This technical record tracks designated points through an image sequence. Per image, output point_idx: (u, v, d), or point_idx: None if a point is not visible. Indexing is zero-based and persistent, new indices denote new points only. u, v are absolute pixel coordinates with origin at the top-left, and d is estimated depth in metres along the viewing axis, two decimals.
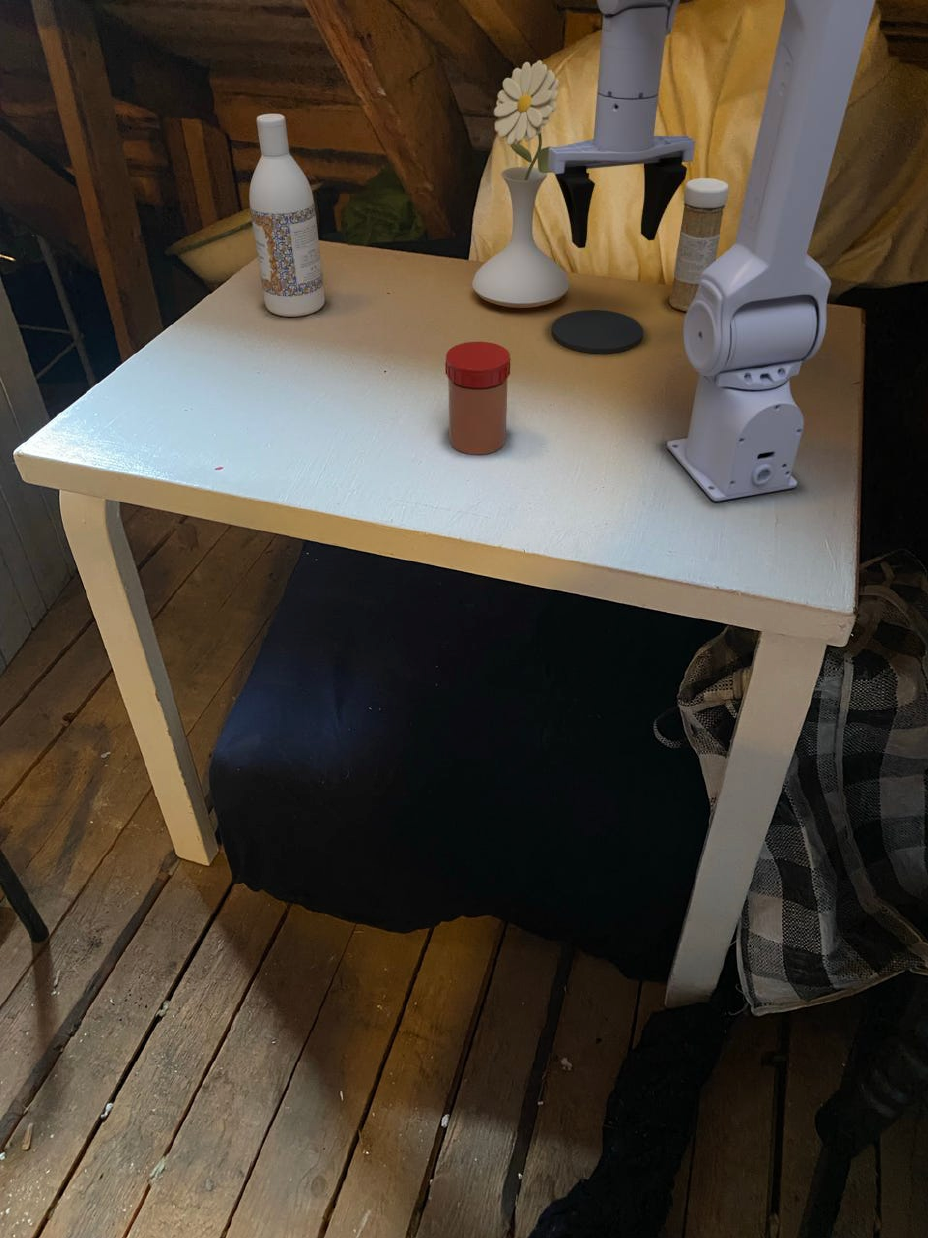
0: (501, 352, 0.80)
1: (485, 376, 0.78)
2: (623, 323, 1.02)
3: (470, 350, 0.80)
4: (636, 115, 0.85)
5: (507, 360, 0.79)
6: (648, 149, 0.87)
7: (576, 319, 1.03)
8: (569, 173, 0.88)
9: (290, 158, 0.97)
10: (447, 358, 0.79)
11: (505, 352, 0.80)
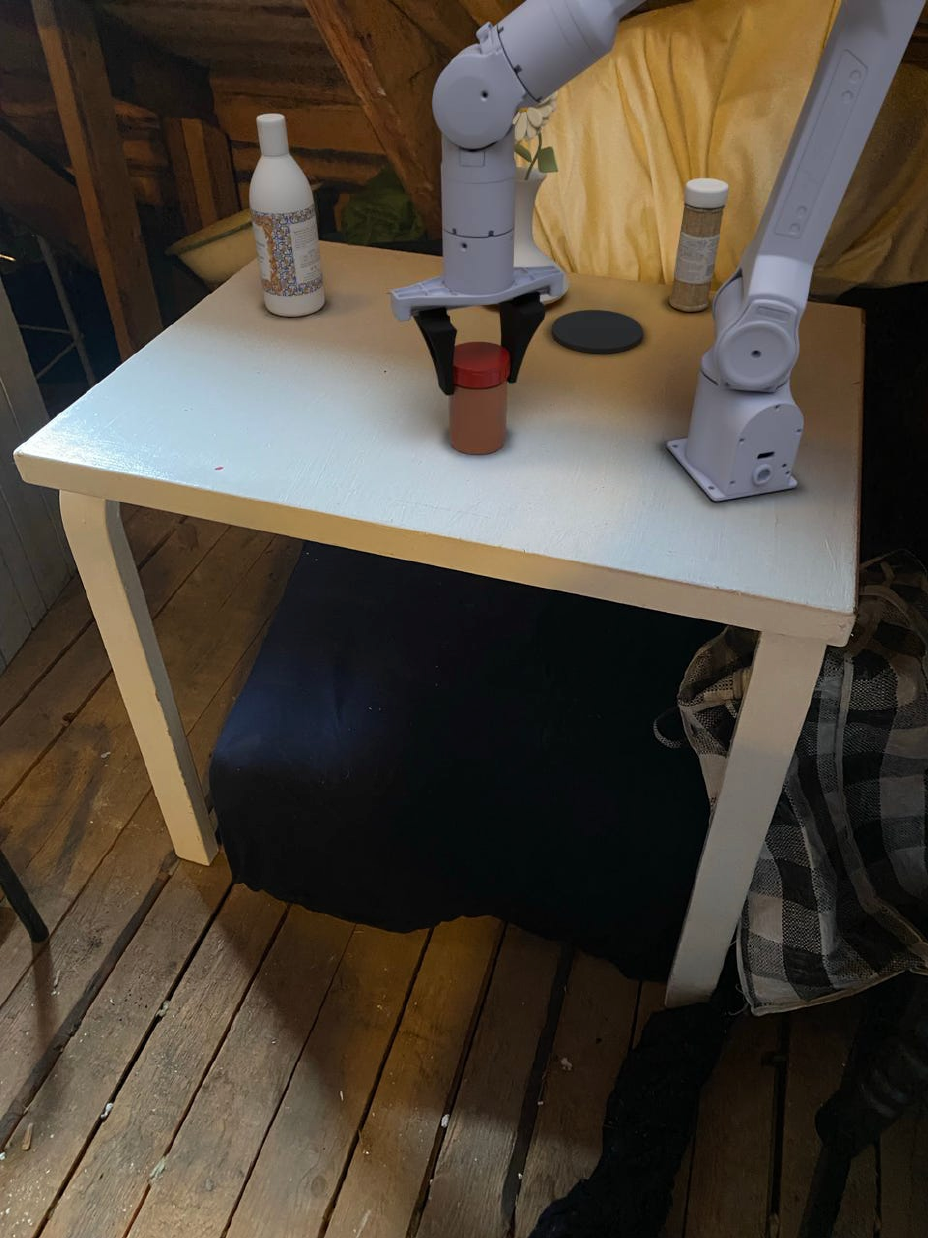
0: (501, 352, 0.80)
1: (485, 376, 0.78)
2: (623, 323, 1.02)
3: (470, 350, 0.80)
4: (489, 255, 0.71)
5: (507, 360, 0.79)
6: (507, 289, 0.74)
7: (576, 319, 1.03)
8: (426, 318, 0.75)
9: (290, 158, 0.97)
10: None
11: (505, 352, 0.80)
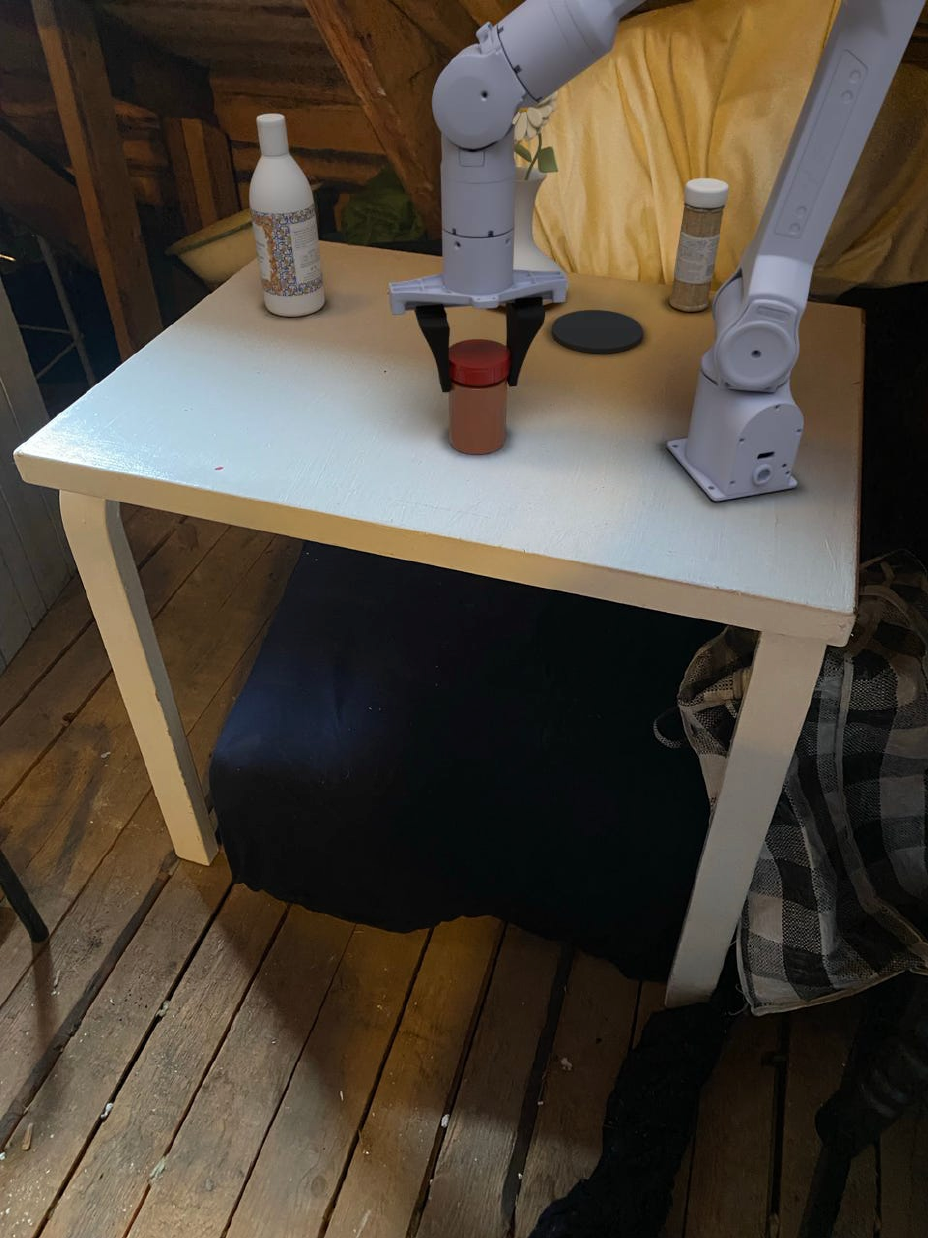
0: (453, 353, 0.79)
1: None
2: (623, 323, 1.02)
3: (483, 358, 0.79)
4: None
5: (452, 345, 0.80)
6: None
7: (576, 319, 1.03)
8: None
9: (290, 158, 0.97)
10: (509, 353, 0.79)
11: (449, 353, 0.79)
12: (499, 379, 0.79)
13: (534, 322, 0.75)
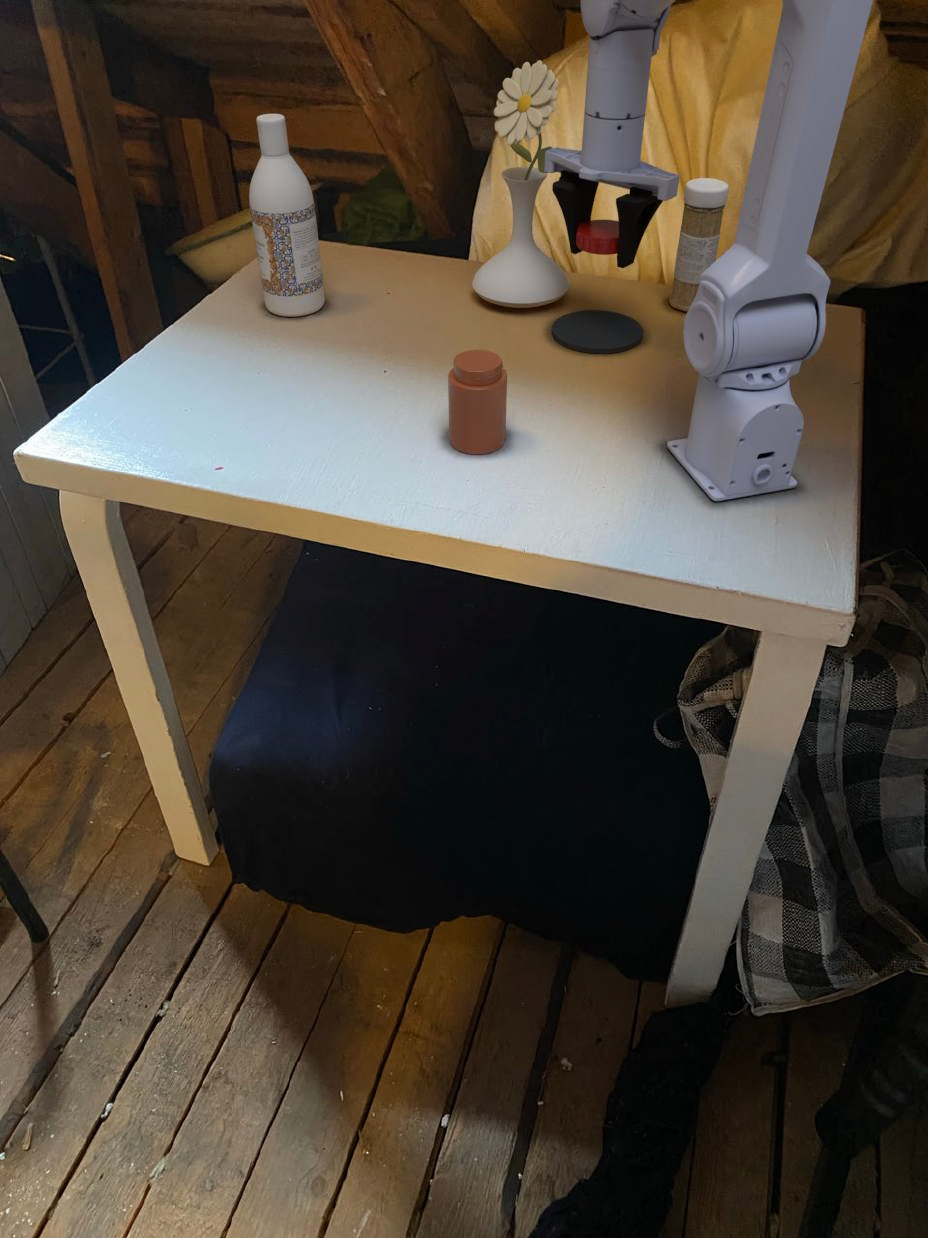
0: (589, 223, 0.95)
1: None
2: (623, 323, 1.02)
3: (600, 231, 0.93)
4: None
5: None
6: None
7: (576, 319, 1.03)
8: None
9: (290, 158, 0.97)
10: None
11: (587, 222, 0.95)
12: (601, 252, 0.93)
13: (627, 207, 0.88)
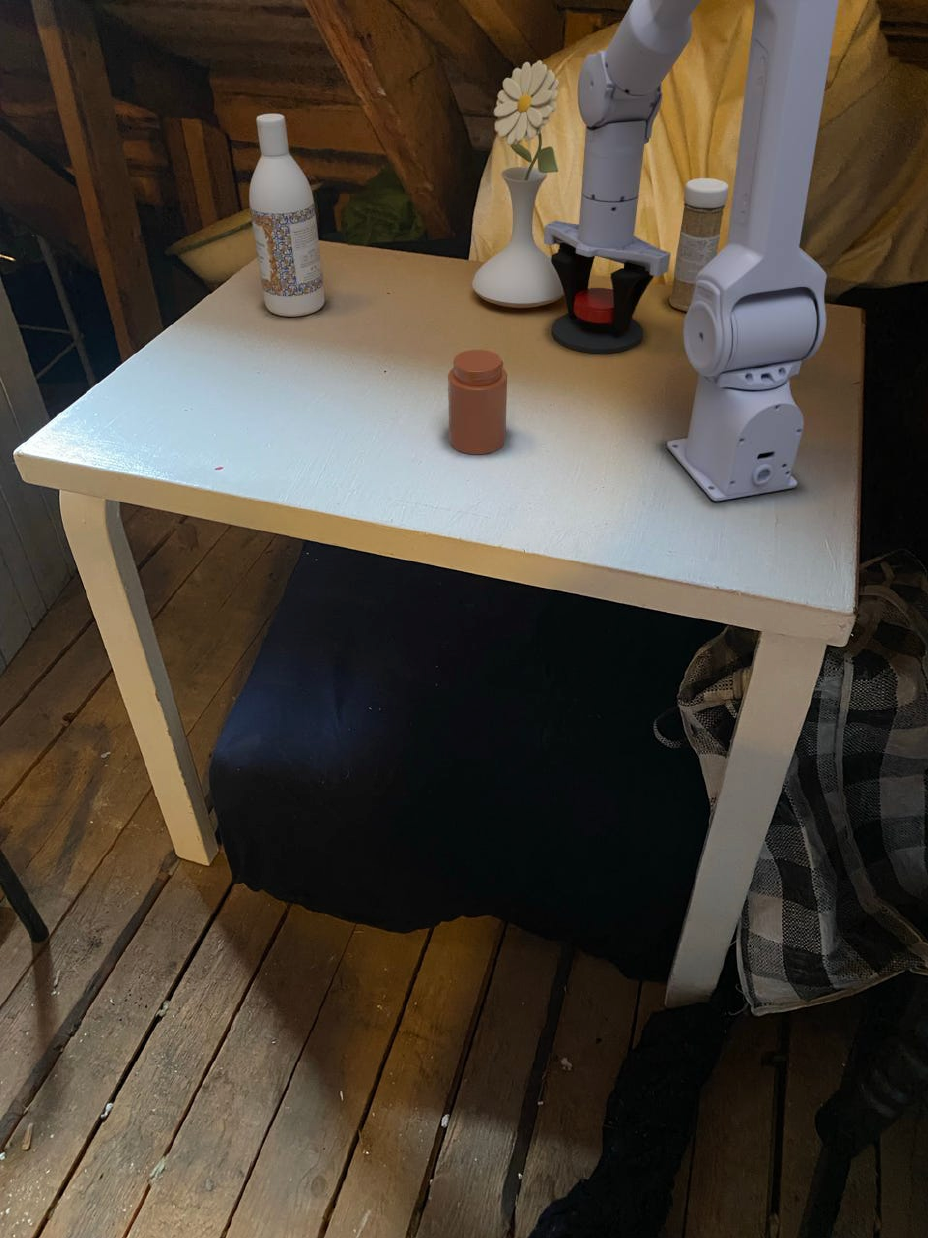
0: (586, 291, 1.00)
1: None
2: None
3: (596, 301, 0.98)
4: None
5: (595, 288, 1.01)
6: None
7: (576, 319, 1.03)
8: None
9: (290, 158, 0.97)
10: None
11: (585, 290, 1.00)
12: (597, 321, 0.98)
13: (621, 281, 0.93)
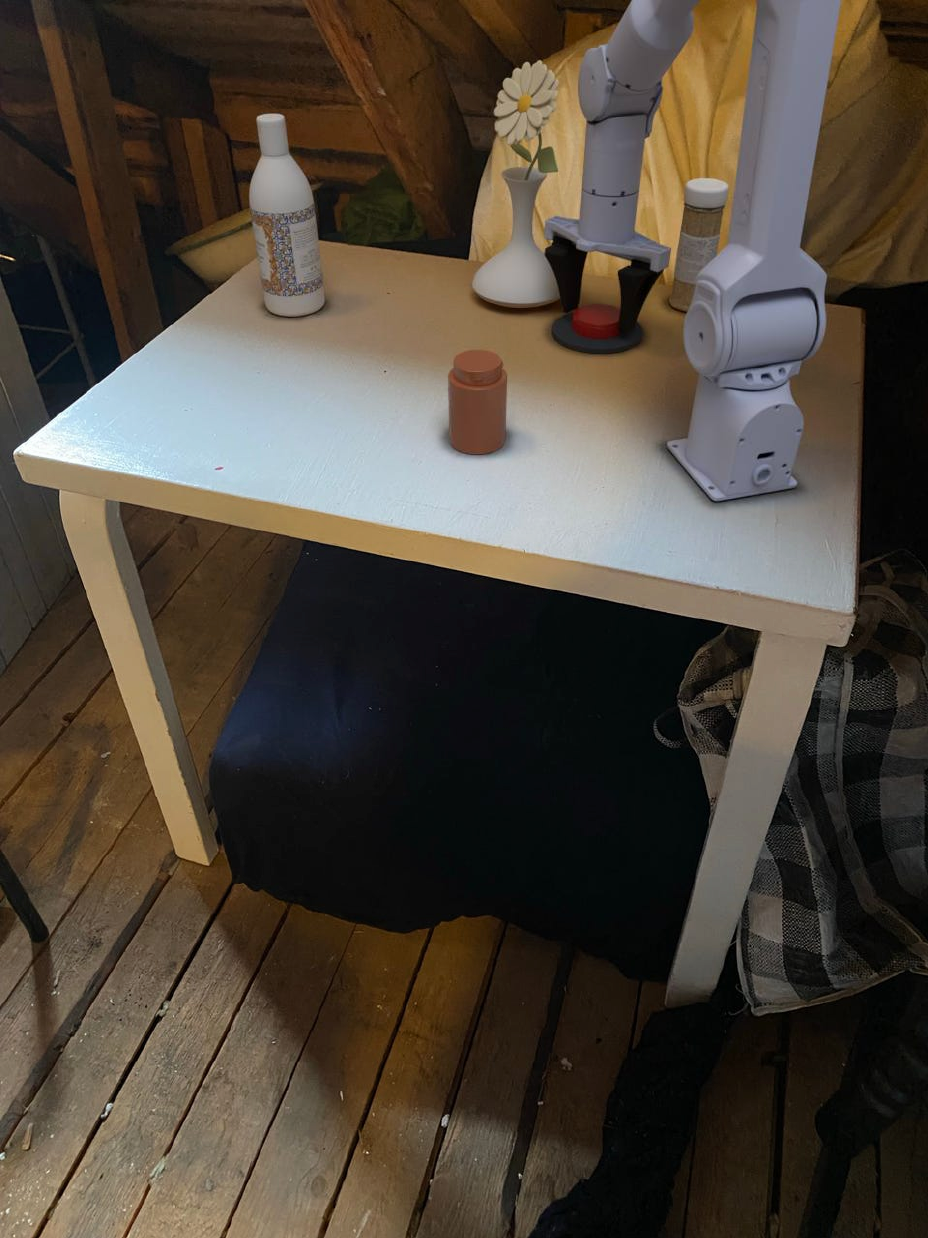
0: (584, 307, 1.01)
1: None
2: None
3: (594, 317, 0.99)
4: None
5: None
6: None
7: None
8: None
9: (290, 158, 0.97)
10: (616, 322, 0.99)
11: (583, 306, 1.02)
12: (595, 337, 0.99)
13: (628, 279, 0.92)
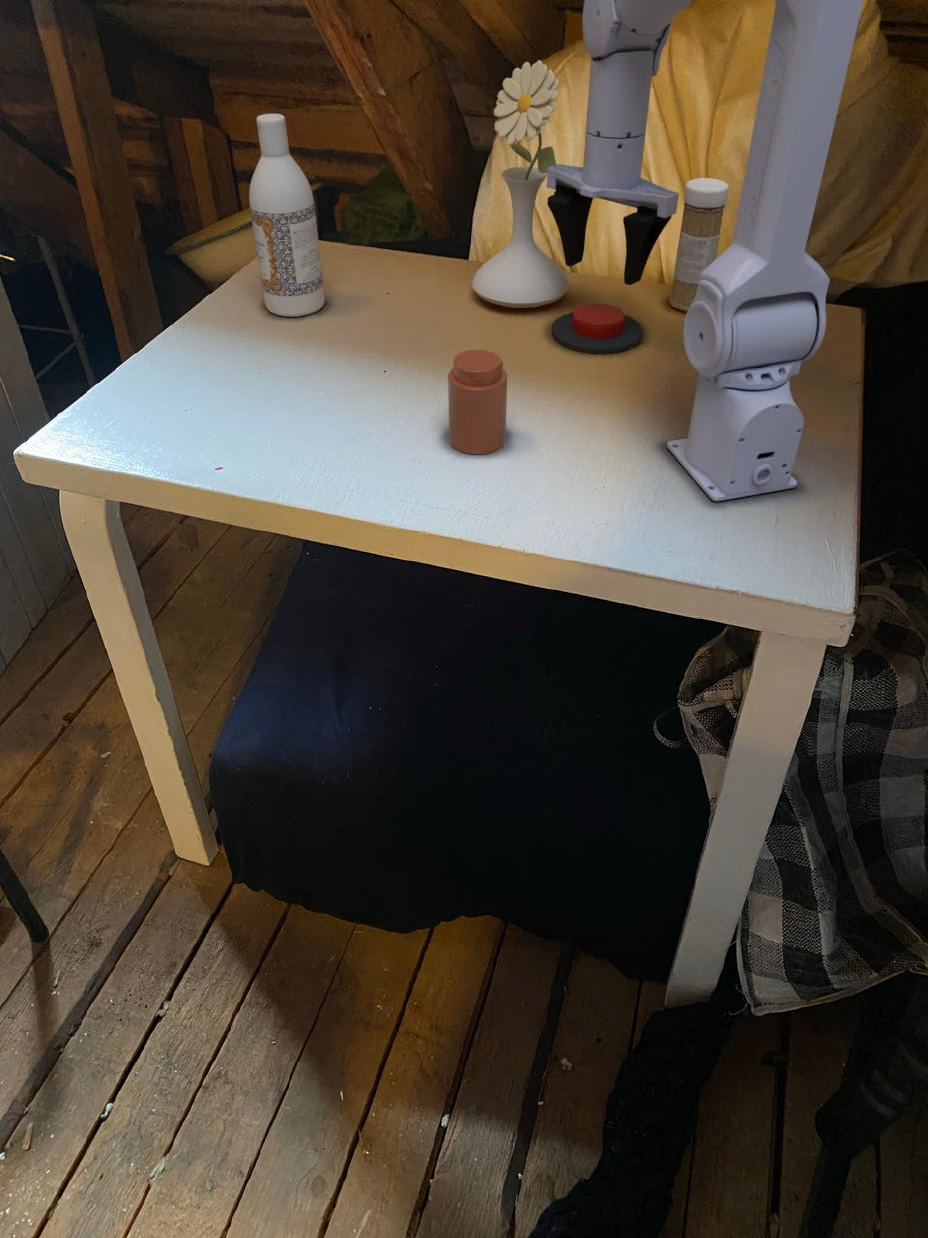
0: (584, 307, 1.01)
1: None
2: None
3: (594, 317, 0.99)
4: None
5: None
6: None
7: None
8: None
9: (290, 158, 0.97)
10: (616, 322, 0.99)
11: (583, 306, 1.02)
12: (595, 337, 0.99)
13: (634, 226, 0.89)
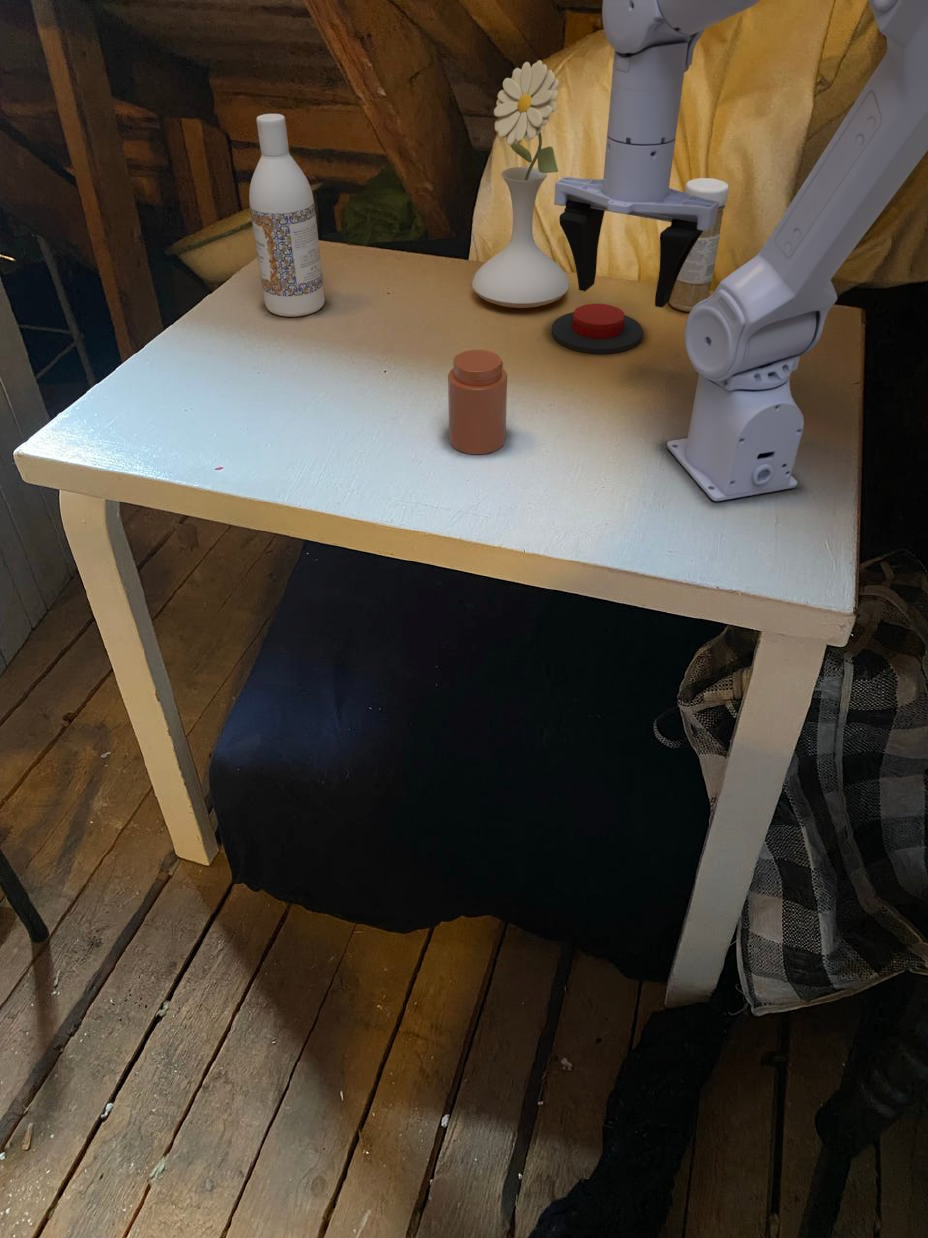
0: (584, 307, 1.01)
1: None
2: None
3: (594, 317, 0.99)
4: None
5: None
6: None
7: None
8: None
9: (290, 158, 0.97)
10: (616, 322, 0.99)
11: (583, 306, 1.02)
12: (595, 337, 0.99)
13: (674, 242, 0.78)
